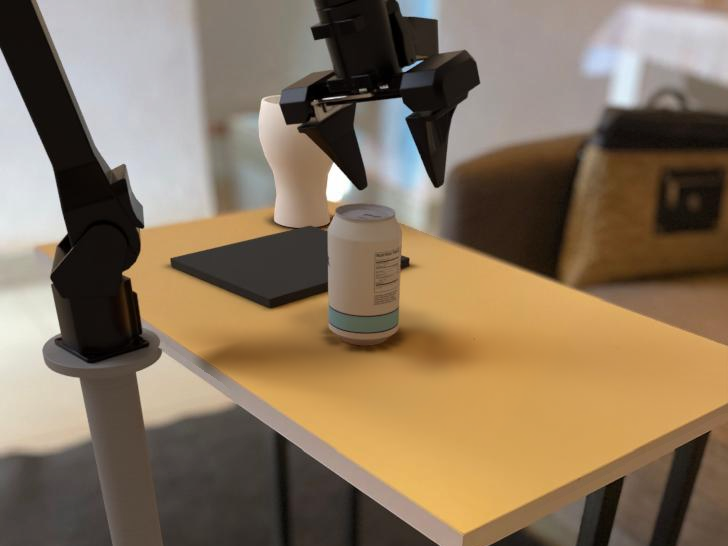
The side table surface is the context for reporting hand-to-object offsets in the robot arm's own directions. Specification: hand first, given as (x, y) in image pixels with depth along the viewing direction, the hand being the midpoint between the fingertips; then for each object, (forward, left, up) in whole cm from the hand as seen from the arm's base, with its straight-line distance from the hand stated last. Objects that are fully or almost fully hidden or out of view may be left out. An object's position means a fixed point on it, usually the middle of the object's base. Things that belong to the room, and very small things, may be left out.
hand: (400, 187), depth 78 cm
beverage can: (-4, 0, -14) cm, 14 cm away
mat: (+5, +21, -14) cm, 26 cm away
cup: (+19, +35, -14) cm, 42 cm away
